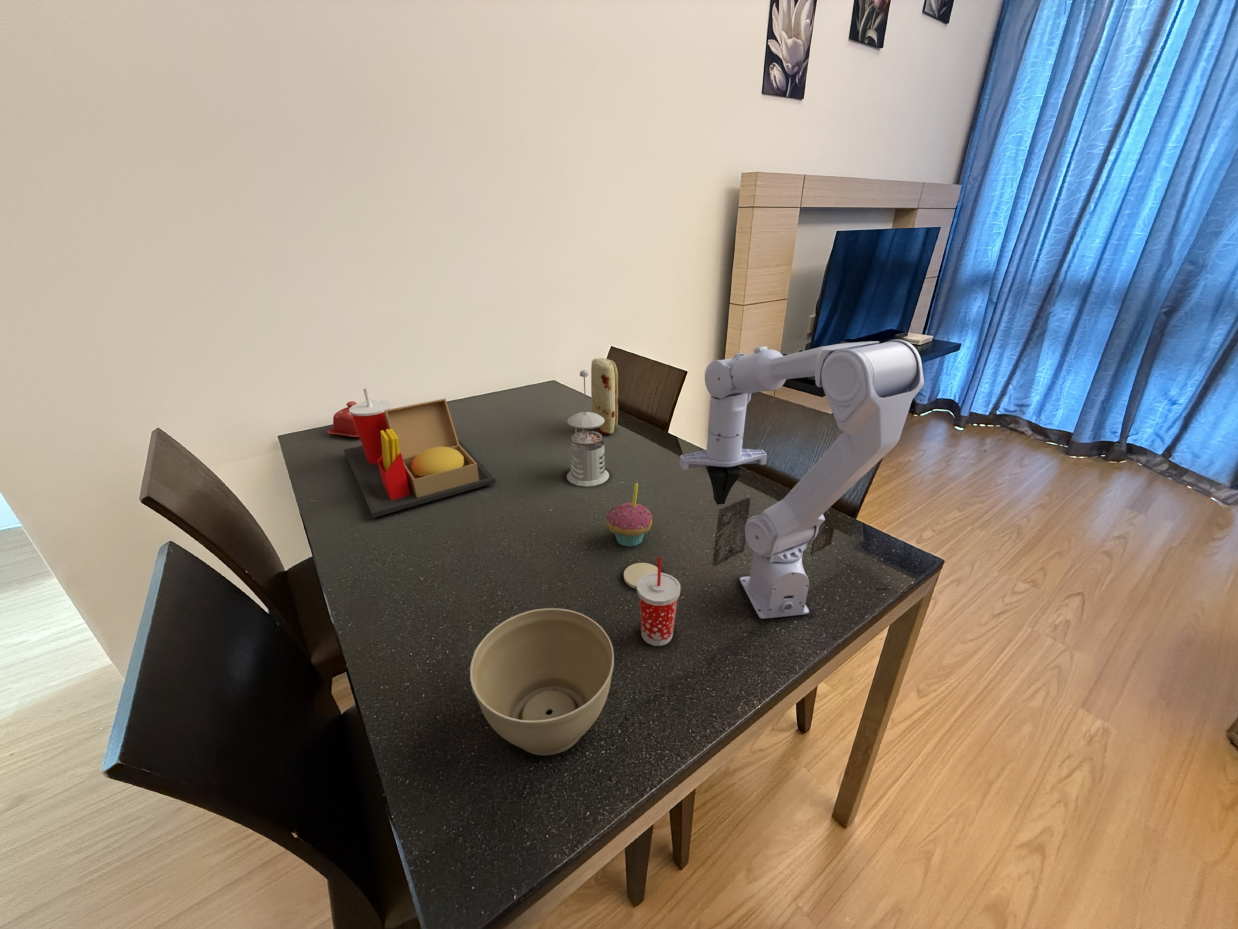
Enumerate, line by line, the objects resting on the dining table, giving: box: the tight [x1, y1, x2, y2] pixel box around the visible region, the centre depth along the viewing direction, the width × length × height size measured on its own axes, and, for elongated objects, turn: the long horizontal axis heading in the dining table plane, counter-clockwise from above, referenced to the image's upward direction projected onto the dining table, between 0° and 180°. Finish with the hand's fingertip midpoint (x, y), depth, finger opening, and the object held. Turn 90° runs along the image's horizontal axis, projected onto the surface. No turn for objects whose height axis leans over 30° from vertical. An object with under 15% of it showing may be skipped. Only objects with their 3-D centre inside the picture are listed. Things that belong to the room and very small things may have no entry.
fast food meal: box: [343, 387, 496, 518], centre depth 119 cm, size 26×35×18 cm
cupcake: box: [605, 479, 654, 547], centre depth 96 cm, size 9×8×12 cm
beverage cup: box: [636, 555, 681, 647], centre depth 74 cm, size 6×6×14 cm
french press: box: [566, 369, 610, 487], centre depth 116 cm, size 10×12×25 cm
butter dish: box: [326, 400, 360, 438], centre depth 142 cm, size 12×12×8 cm
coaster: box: [623, 562, 658, 590], centre depth 89 cm, size 6×6×1 cm
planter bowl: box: [469, 607, 615, 757], centre depth 62 cm, size 16×16×11 cm
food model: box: [590, 357, 619, 436], centre depth 139 cm, size 10×7×20 cm
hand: (719, 501), depth 93 cm, fingers closed
